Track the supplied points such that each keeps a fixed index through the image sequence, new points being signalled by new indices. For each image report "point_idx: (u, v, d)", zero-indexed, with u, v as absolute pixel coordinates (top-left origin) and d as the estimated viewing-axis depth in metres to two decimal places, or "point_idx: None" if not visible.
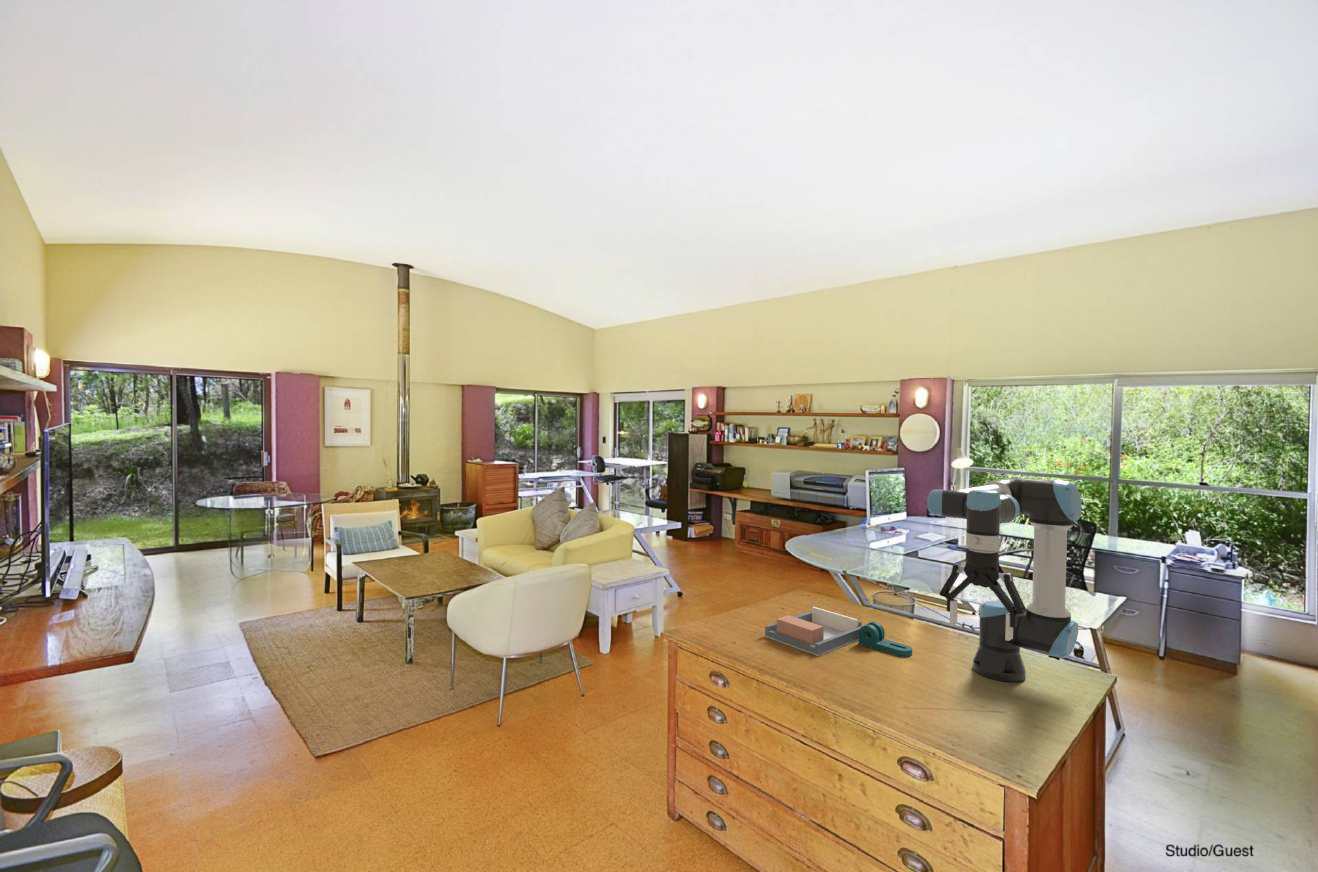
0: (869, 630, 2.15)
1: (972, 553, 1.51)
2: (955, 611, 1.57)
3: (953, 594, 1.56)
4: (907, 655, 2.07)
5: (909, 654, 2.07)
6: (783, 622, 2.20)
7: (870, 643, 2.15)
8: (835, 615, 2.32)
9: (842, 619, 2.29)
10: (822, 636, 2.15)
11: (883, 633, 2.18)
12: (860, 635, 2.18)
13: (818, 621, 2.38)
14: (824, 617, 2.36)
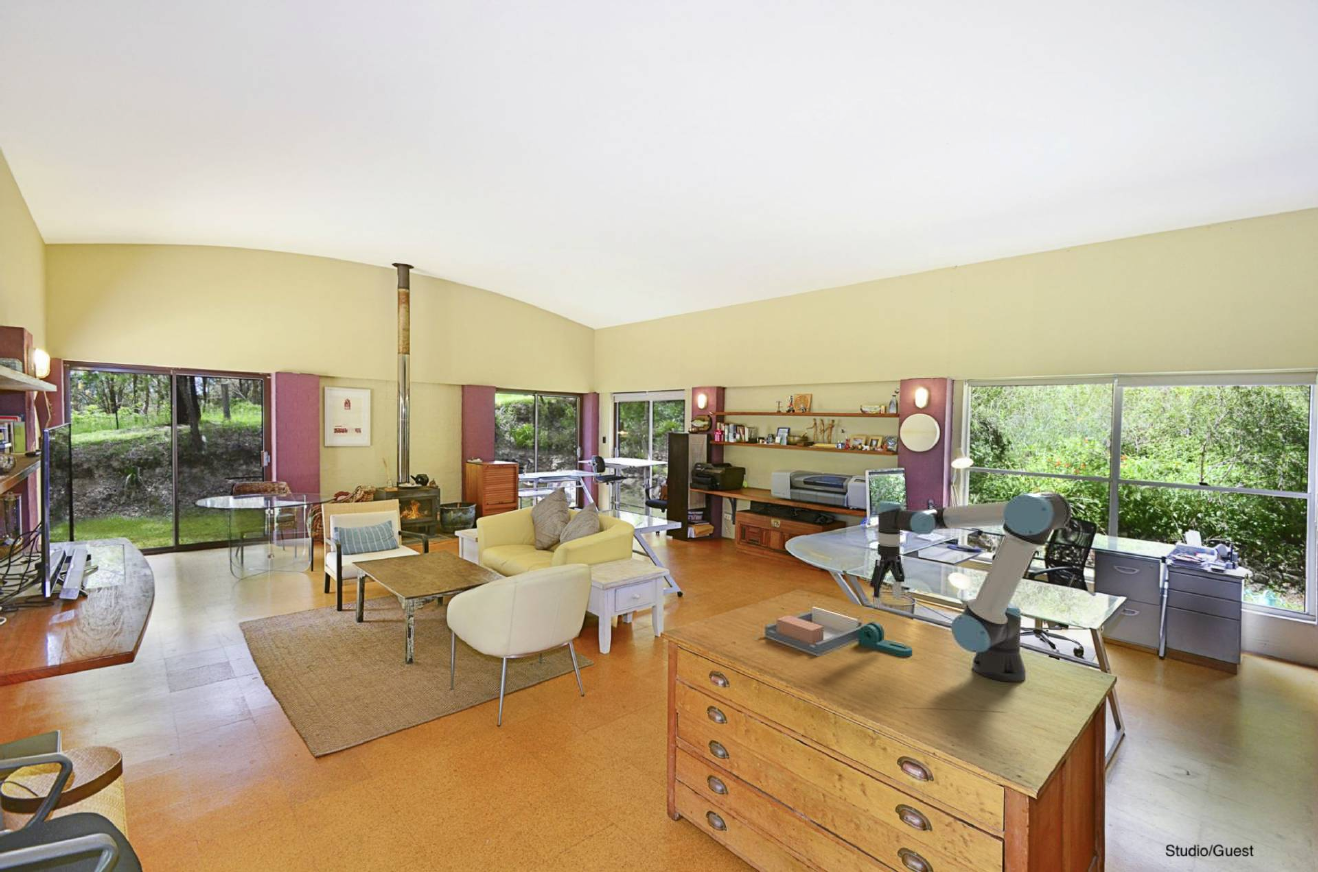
0: (869, 630, 2.15)
1: None
2: (897, 589, 2.18)
3: None
4: (907, 655, 2.07)
5: (909, 654, 2.07)
6: (783, 622, 2.20)
7: (870, 643, 2.15)
8: (835, 615, 2.32)
9: (842, 619, 2.29)
10: (822, 636, 2.15)
11: (883, 633, 2.18)
12: (860, 635, 2.17)
13: (818, 621, 2.38)
14: (824, 617, 2.36)
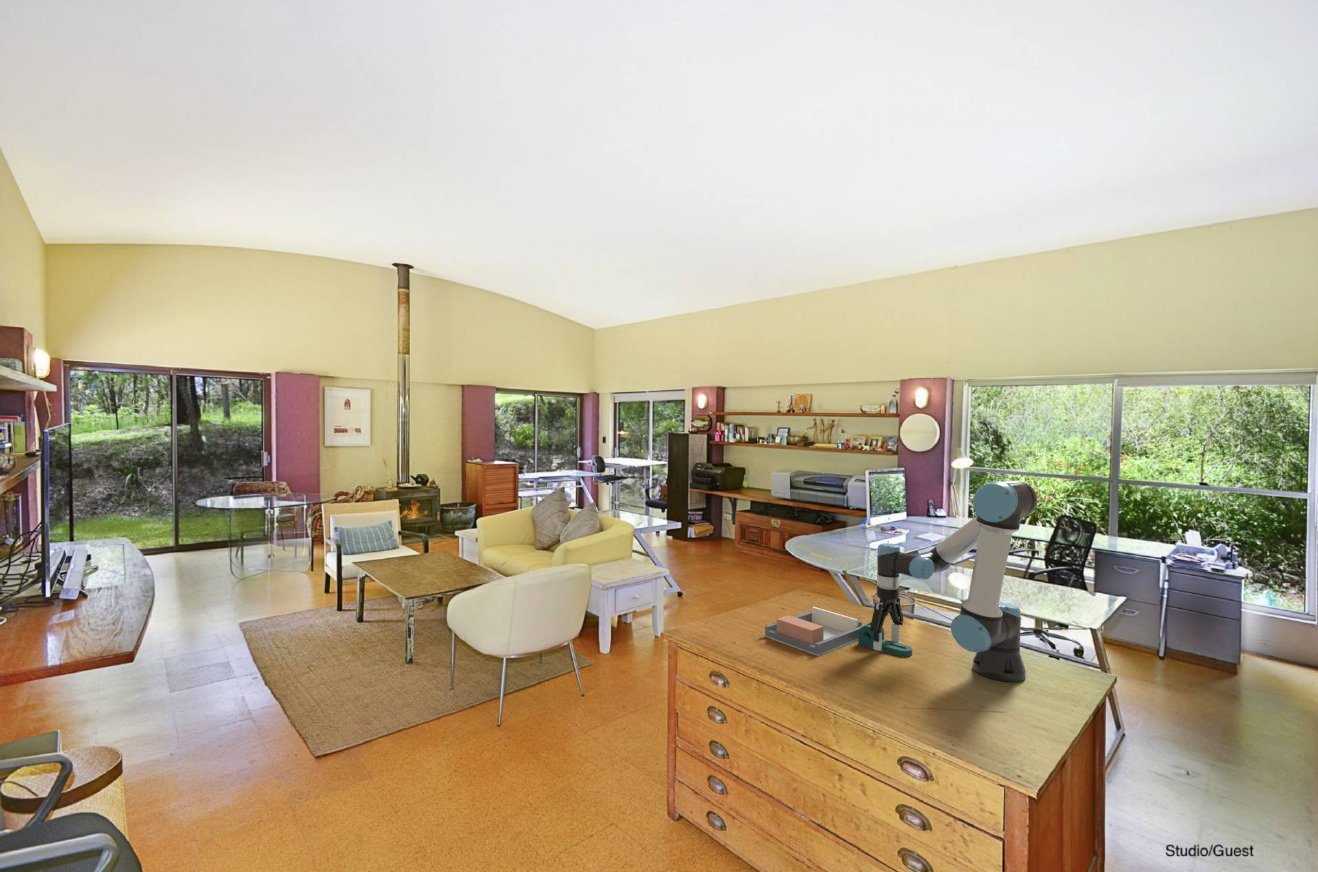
0: (869, 630, 2.15)
1: None
2: (895, 632, 2.18)
3: None
4: (907, 655, 2.07)
5: (909, 654, 2.07)
6: (783, 622, 2.20)
7: (870, 643, 2.15)
8: (835, 615, 2.32)
9: (842, 619, 2.29)
10: (822, 636, 2.15)
11: (883, 633, 2.18)
12: (860, 635, 2.17)
13: (818, 621, 2.38)
14: (824, 617, 2.36)
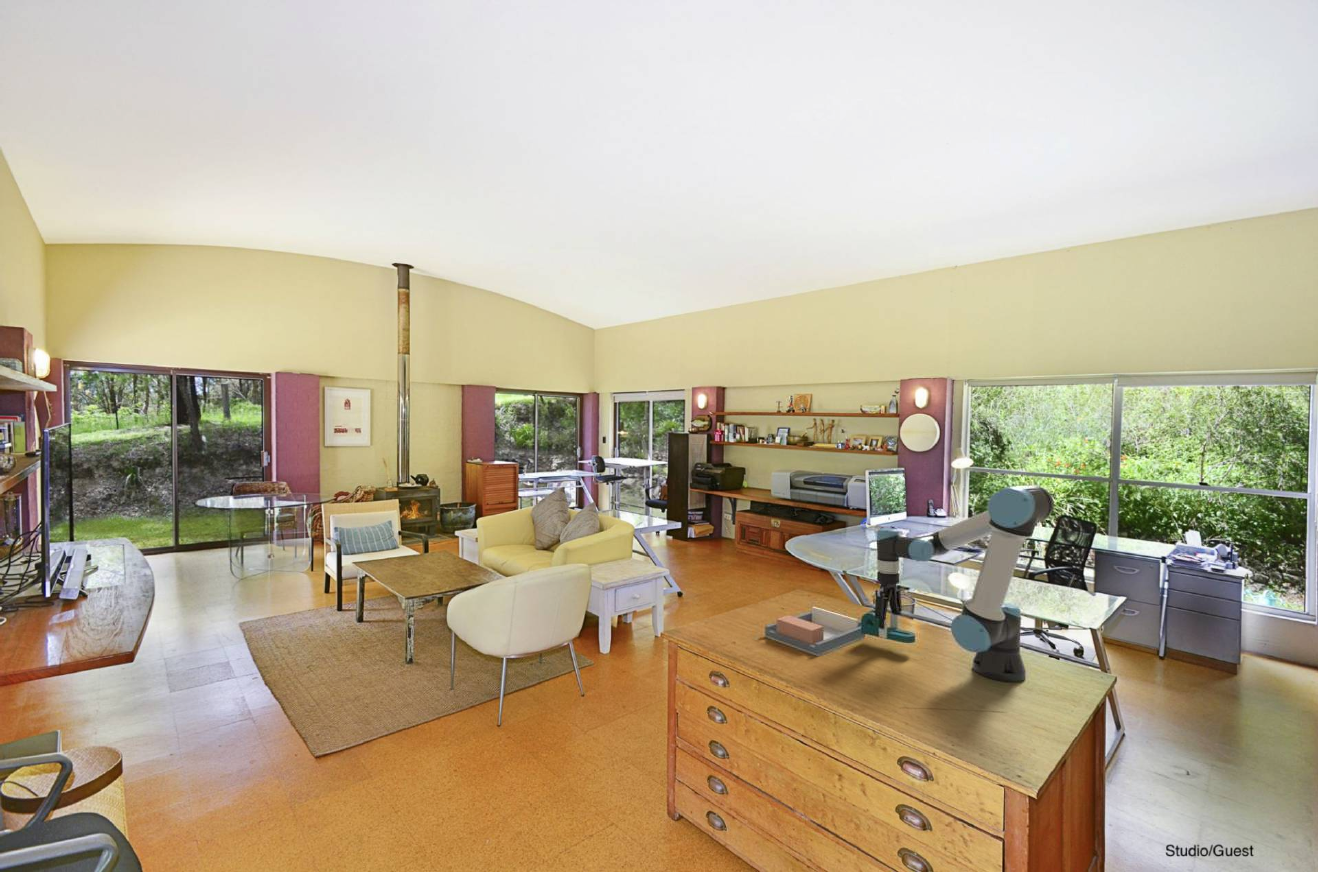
0: (871, 617, 2.15)
1: None
2: (894, 623, 2.16)
3: None
4: (910, 641, 2.06)
5: (912, 640, 2.07)
6: (783, 622, 2.20)
7: (872, 630, 2.14)
8: (835, 615, 2.32)
9: (842, 619, 2.29)
10: (822, 636, 2.15)
11: None
12: (862, 623, 2.17)
13: (818, 621, 2.38)
14: (824, 617, 2.36)
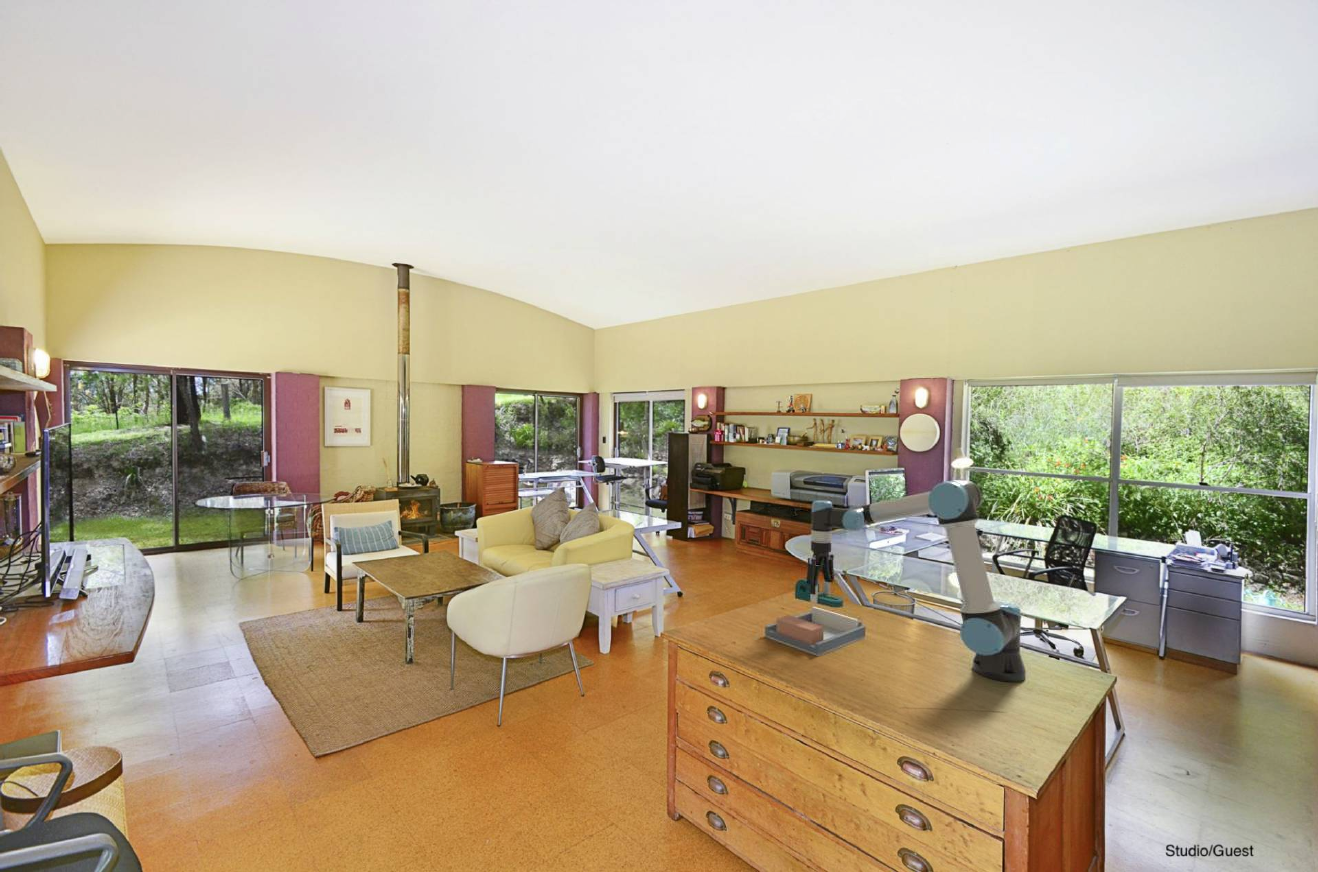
0: (804, 584, 2.27)
1: None
2: (826, 589, 2.29)
3: None
4: (838, 605, 2.19)
5: (840, 605, 2.20)
6: (783, 622, 2.20)
7: (805, 596, 2.27)
8: (835, 615, 2.32)
9: (842, 619, 2.29)
10: (822, 636, 2.15)
11: (818, 587, 2.30)
12: (796, 589, 2.30)
13: (818, 621, 2.38)
14: (824, 617, 2.36)
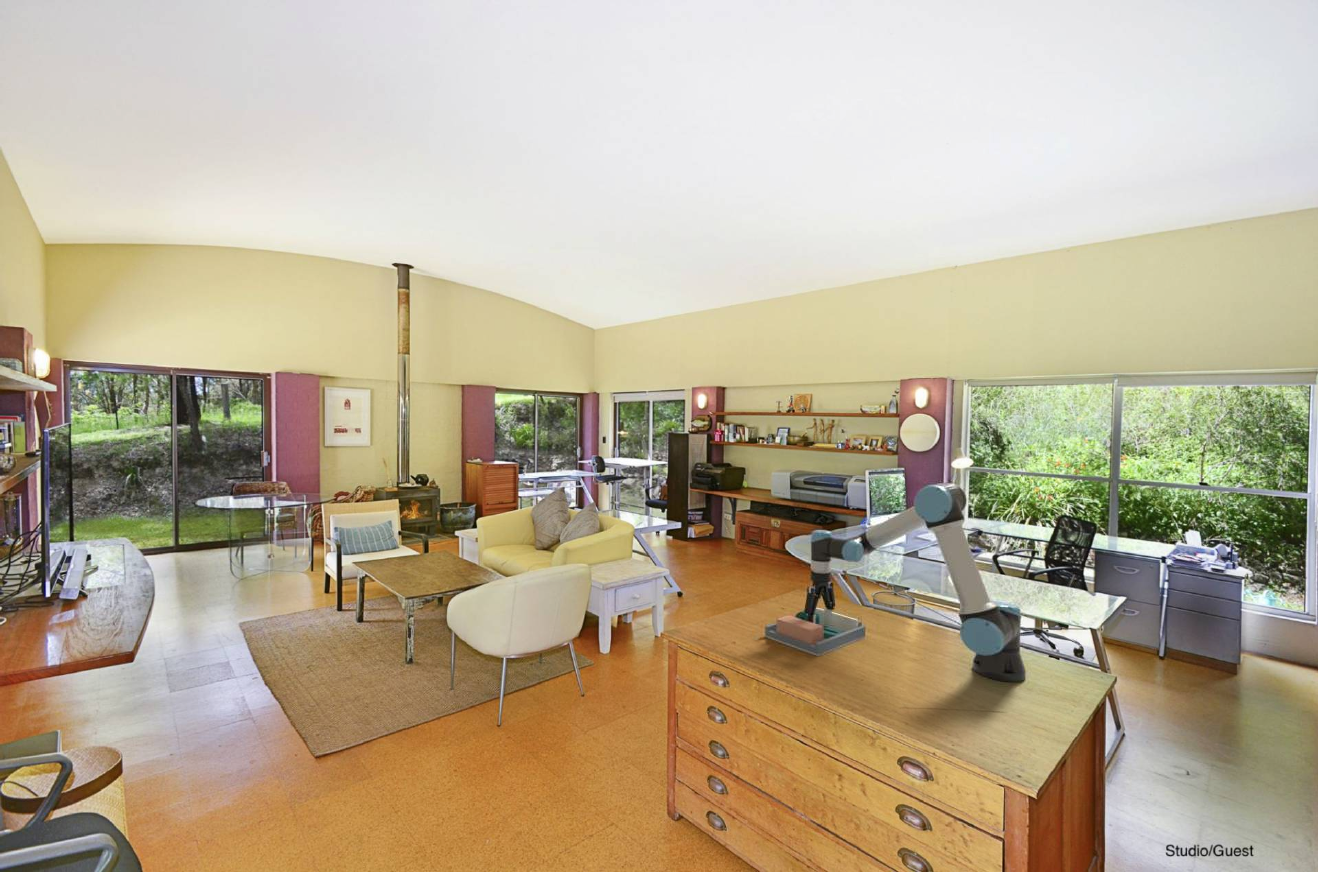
0: (804, 616, 2.28)
1: None
2: (827, 617, 2.30)
3: None
4: None
5: None
6: (783, 622, 2.20)
7: None
8: (835, 615, 2.32)
9: (842, 619, 2.29)
10: (822, 636, 2.15)
11: (818, 619, 2.30)
12: None
13: None
14: None
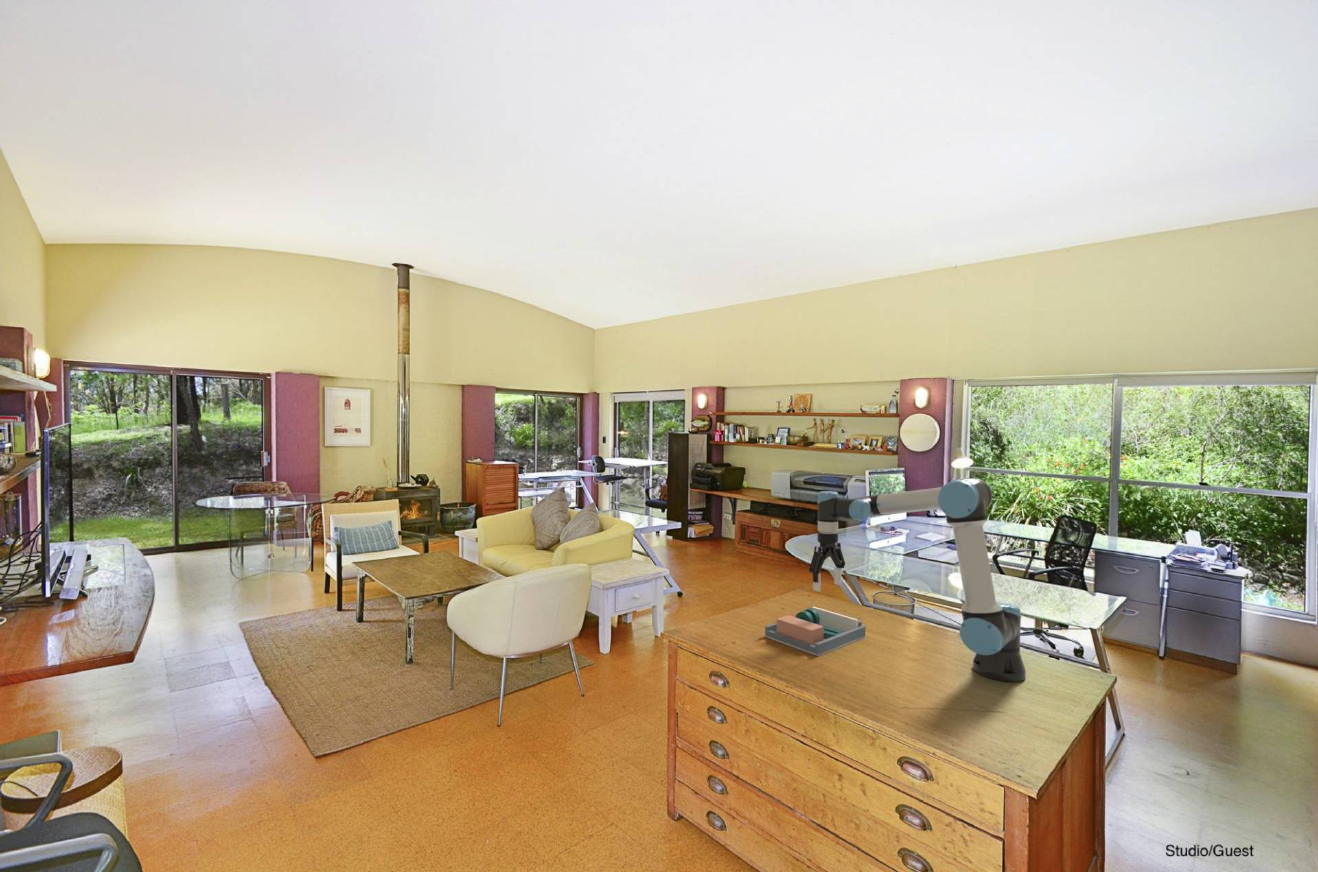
0: (804, 616, 2.28)
1: None
2: (837, 575, 2.29)
3: None
4: None
5: None
6: (783, 622, 2.20)
7: None
8: (835, 615, 2.32)
9: (842, 619, 2.29)
10: (822, 636, 2.15)
11: (818, 619, 2.30)
12: None
13: None
14: (824, 617, 2.36)
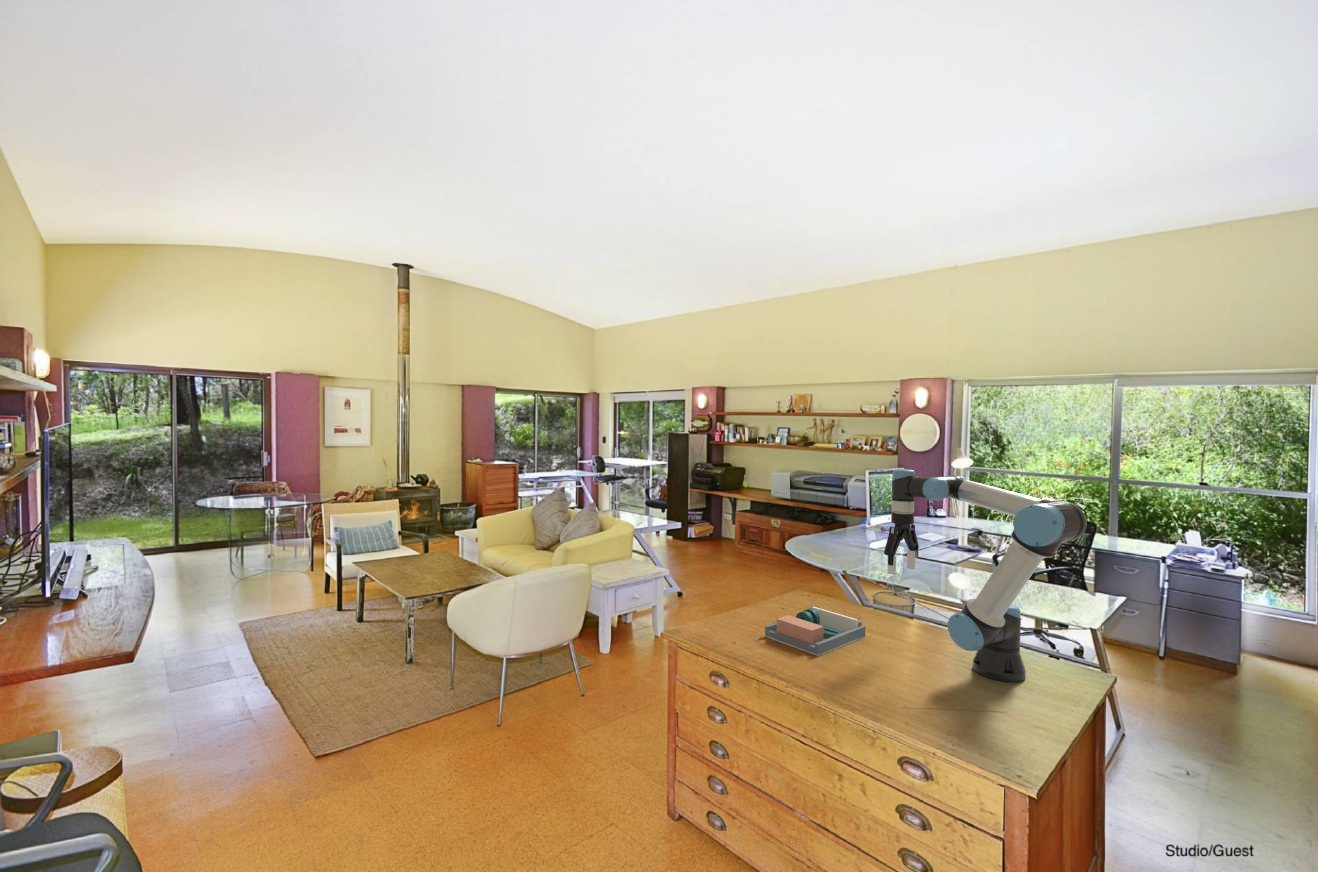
0: (804, 616, 2.28)
1: None
2: (911, 558, 2.16)
3: None
4: None
5: None
6: (783, 622, 2.20)
7: None
8: (835, 615, 2.32)
9: (842, 619, 2.29)
10: (822, 636, 2.15)
11: (818, 619, 2.30)
12: None
13: None
14: (824, 617, 2.36)
